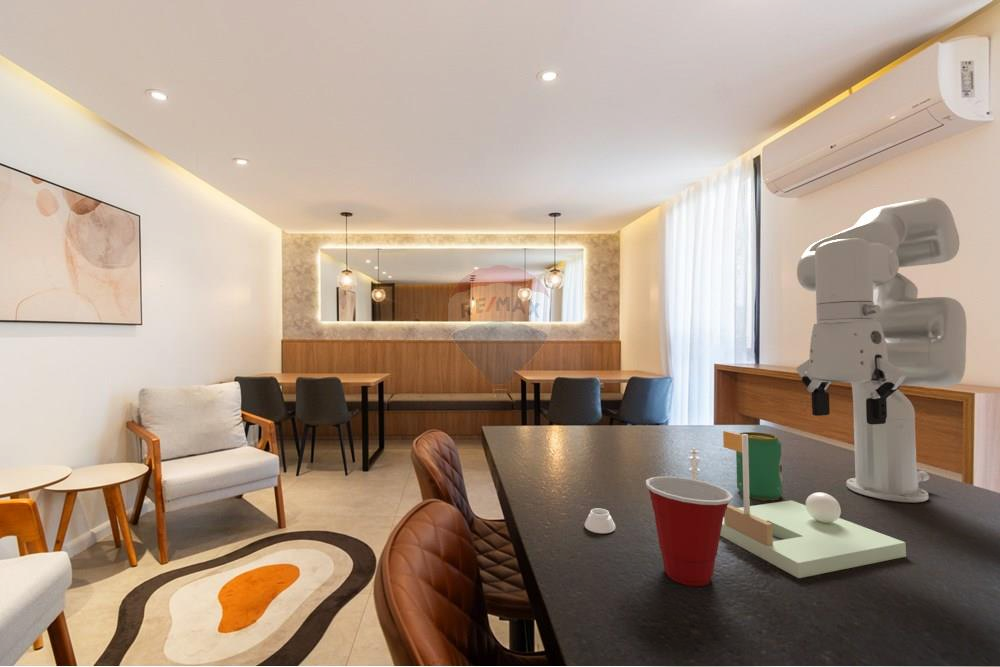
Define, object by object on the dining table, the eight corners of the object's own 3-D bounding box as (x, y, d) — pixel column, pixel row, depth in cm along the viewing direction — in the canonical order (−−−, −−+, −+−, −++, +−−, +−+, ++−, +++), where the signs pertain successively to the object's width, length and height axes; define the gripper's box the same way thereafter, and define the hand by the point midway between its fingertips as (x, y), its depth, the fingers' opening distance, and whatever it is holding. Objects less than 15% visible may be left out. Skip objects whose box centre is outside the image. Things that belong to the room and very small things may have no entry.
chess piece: (711, 503, 85) (710, 451, 85) (684, 502, 86) (683, 450, 86) (705, 495, 90) (704, 445, 90) (679, 493, 91) (678, 444, 91)
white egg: (820, 514, 74) (819, 487, 74) (848, 525, 69) (847, 496, 70) (799, 518, 73) (798, 490, 73) (826, 529, 68) (825, 499, 68)
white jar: (587, 521, 78) (582, 533, 73) (587, 504, 78) (582, 515, 73) (616, 525, 76) (613, 537, 71) (616, 508, 76) (612, 519, 71)
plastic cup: (755, 589, 56) (752, 493, 56) (682, 604, 52) (681, 503, 53) (694, 550, 66) (692, 470, 66) (631, 561, 63) (629, 477, 63)
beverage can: (787, 503, 85) (786, 440, 85) (741, 498, 87) (739, 438, 88) (776, 490, 92) (774, 432, 93) (734, 486, 95) (732, 430, 95)
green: (791, 511, 81) (789, 418, 81) (906, 556, 63) (902, 437, 64) (700, 524, 75) (698, 424, 76) (798, 578, 58) (795, 448, 58)
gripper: (921, 310, 66) (925, 427, 66) (811, 318, 83) (814, 410, 83) (885, 310, 64) (889, 430, 64) (780, 317, 81) (782, 412, 80)
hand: (847, 418), depth 73 cm, fingers open, 8 cm apart
